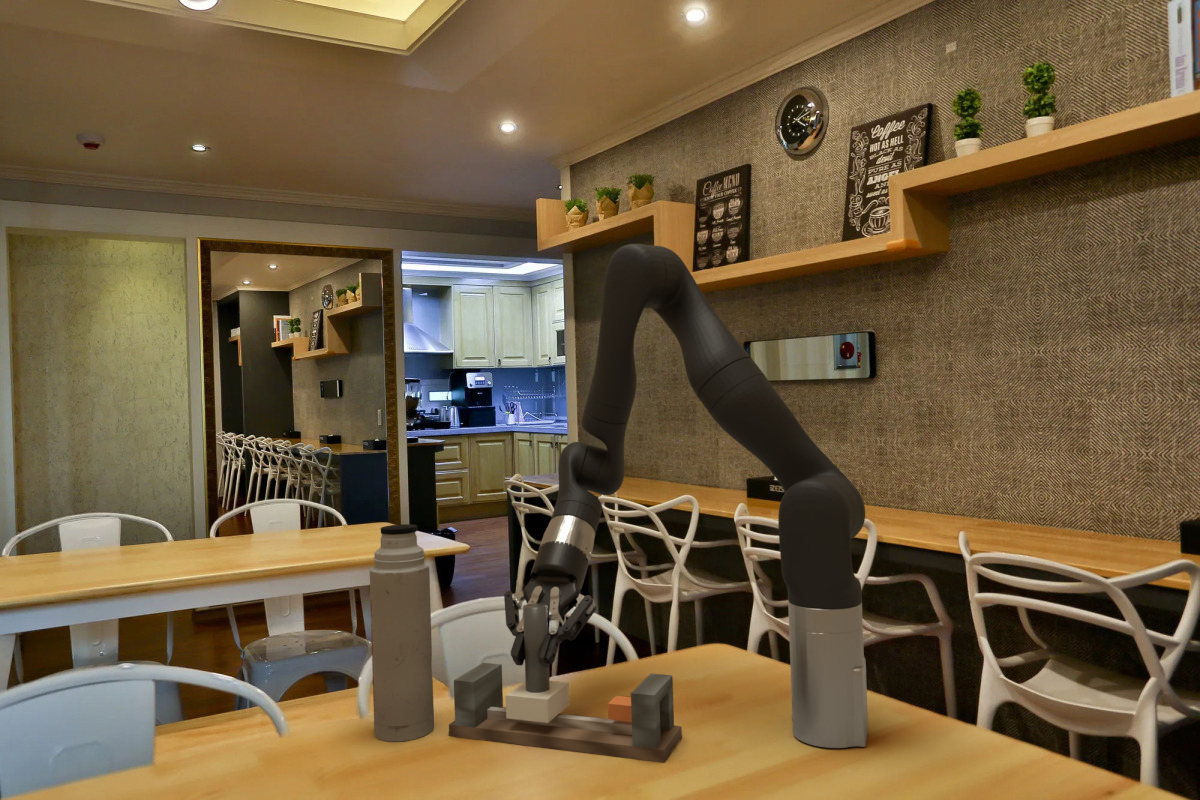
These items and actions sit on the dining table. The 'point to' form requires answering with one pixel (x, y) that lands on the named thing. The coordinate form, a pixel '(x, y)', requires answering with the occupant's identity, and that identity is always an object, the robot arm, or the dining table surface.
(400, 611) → the thermos bottle
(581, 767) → the dining table surface
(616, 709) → the reset pin
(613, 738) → the rail board
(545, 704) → the carriage
